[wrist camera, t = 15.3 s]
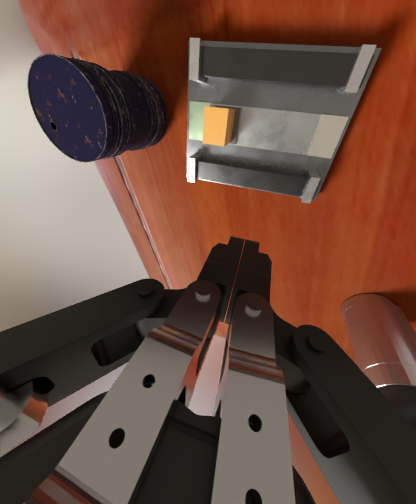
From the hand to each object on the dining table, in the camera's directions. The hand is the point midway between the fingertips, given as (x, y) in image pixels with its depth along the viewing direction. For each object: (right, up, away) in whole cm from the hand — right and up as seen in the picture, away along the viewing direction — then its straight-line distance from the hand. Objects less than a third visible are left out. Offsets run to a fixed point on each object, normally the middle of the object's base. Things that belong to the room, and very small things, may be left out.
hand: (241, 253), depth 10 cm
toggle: (+1, +19, +18) cm, 26 cm away
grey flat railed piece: (+6, +19, +19) cm, 27 cm away
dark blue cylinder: (-13, +24, +23) cm, 35 cm away
